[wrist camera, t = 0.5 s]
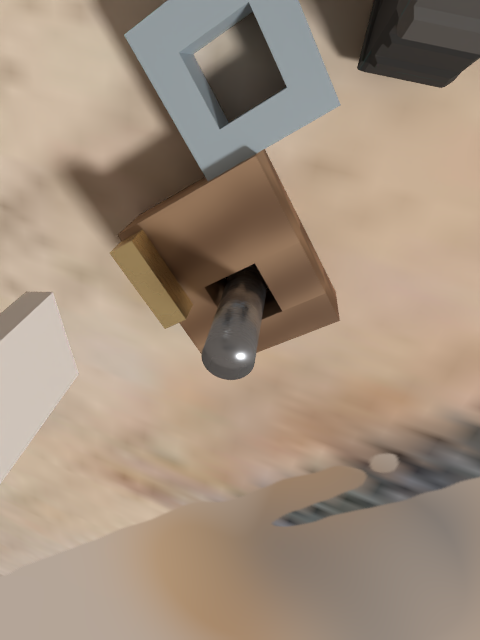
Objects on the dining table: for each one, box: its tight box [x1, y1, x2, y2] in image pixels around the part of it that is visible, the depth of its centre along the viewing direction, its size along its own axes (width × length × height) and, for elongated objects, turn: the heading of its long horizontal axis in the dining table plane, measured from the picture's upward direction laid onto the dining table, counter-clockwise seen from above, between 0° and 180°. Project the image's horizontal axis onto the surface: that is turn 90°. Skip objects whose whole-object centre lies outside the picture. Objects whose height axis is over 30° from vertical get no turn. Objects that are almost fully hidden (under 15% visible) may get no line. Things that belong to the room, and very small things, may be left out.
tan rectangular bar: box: [110, 229, 193, 329], centre depth 32 cm, size 7×2×2 cm, turn 30°
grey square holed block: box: [124, 0, 340, 181], centre depth 28 cm, size 10×10×4 cm
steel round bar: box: [202, 264, 267, 380], centre depth 32 cm, size 3×3×13 cm
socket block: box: [118, 149, 340, 354], centre depth 35 cm, size 14×12×5 cm
